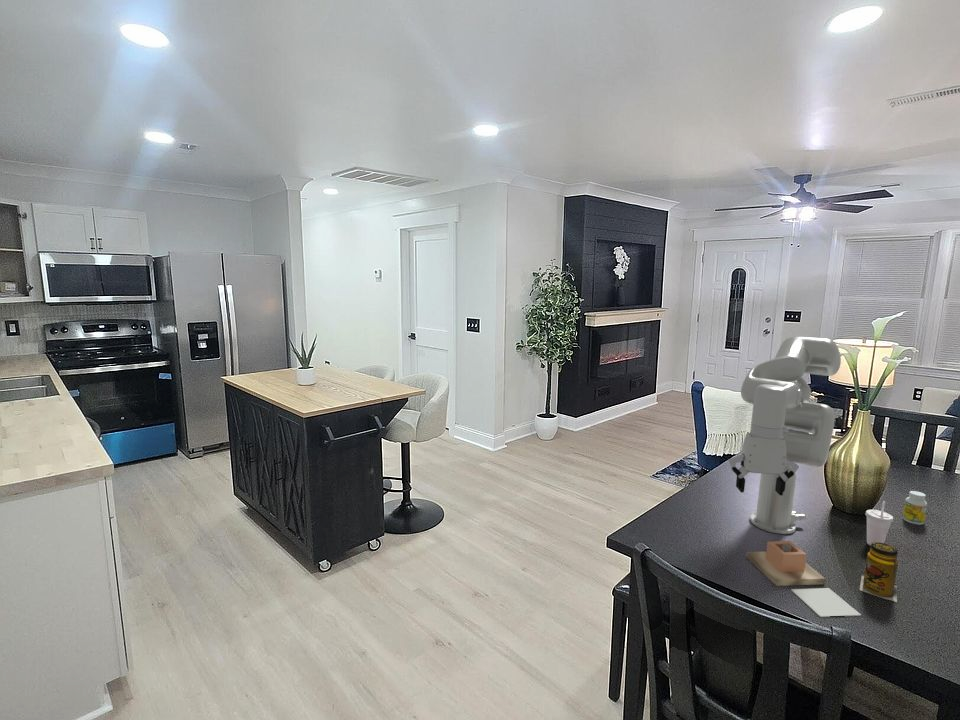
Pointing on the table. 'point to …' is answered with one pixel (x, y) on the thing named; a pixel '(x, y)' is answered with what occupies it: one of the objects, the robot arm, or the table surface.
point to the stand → (785, 578)
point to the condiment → (881, 572)
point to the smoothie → (877, 525)
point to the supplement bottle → (915, 508)
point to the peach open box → (785, 557)
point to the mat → (825, 602)
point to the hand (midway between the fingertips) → (759, 491)
